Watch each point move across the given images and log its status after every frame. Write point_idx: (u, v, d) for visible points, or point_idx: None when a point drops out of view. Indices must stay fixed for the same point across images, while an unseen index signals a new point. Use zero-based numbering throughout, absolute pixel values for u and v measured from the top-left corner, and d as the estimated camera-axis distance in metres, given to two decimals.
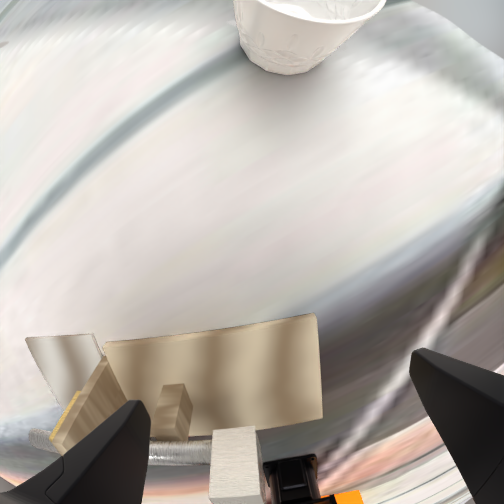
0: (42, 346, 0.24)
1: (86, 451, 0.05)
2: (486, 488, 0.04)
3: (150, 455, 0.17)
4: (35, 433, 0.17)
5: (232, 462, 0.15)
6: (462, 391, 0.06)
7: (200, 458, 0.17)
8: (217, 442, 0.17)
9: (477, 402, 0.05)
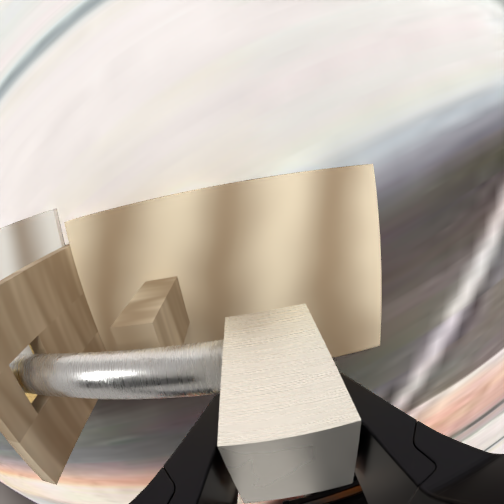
0: None
1: (194, 457, 0.05)
2: None
3: (102, 373, 0.09)
4: None
5: (272, 361, 0.08)
6: (366, 430, 0.06)
7: (198, 375, 0.09)
8: (235, 333, 0.10)
9: (378, 446, 0.05)
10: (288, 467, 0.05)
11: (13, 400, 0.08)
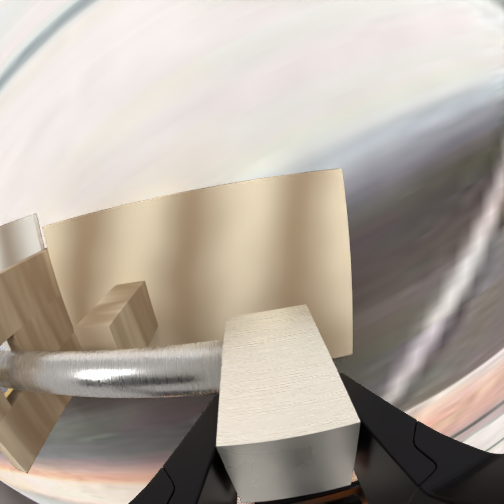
0: None
1: (194, 457, 0.05)
2: None
3: (102, 371, 0.09)
4: None
5: (272, 362, 0.08)
6: (366, 430, 0.06)
7: (198, 375, 0.09)
8: (235, 333, 0.10)
9: (379, 446, 0.05)
10: (287, 468, 0.05)
11: None
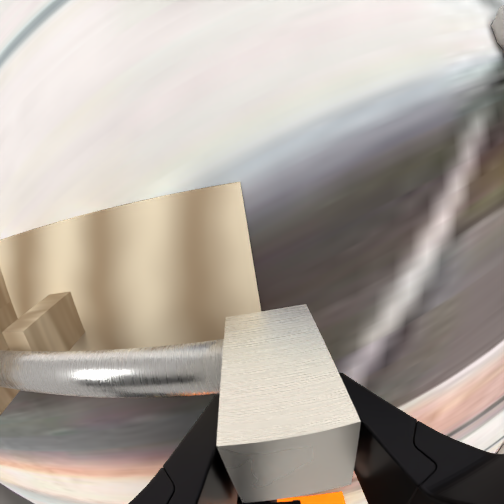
0: None
1: (193, 457, 0.05)
2: None
3: (102, 371, 0.09)
4: None
5: (272, 362, 0.08)
6: (366, 429, 0.06)
7: (198, 374, 0.09)
8: (235, 333, 0.10)
9: (379, 446, 0.05)
10: (287, 468, 0.05)
11: None
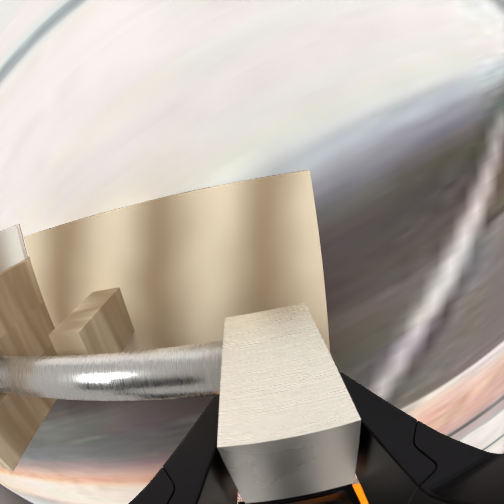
0: None
1: (194, 457, 0.05)
2: None
3: (102, 375, 0.09)
4: None
5: (272, 362, 0.08)
6: (366, 429, 0.06)
7: (198, 376, 0.09)
8: (234, 333, 0.10)
9: (379, 446, 0.05)
10: (289, 467, 0.05)
11: None
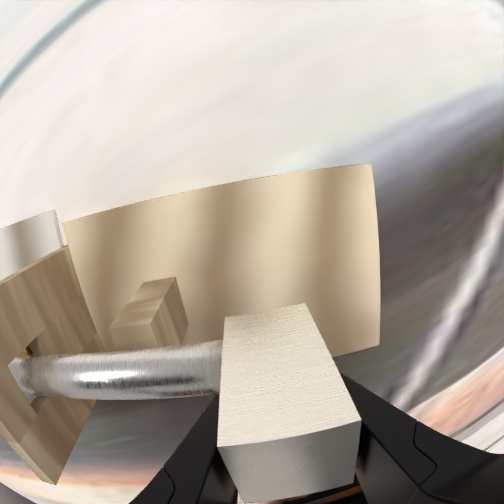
0: None
1: (194, 457, 0.05)
2: None
3: (102, 373, 0.09)
4: None
5: (272, 361, 0.08)
6: (366, 430, 0.06)
7: (198, 375, 0.09)
8: (234, 333, 0.10)
9: (379, 446, 0.05)
10: (289, 467, 0.05)
11: (12, 401, 0.08)
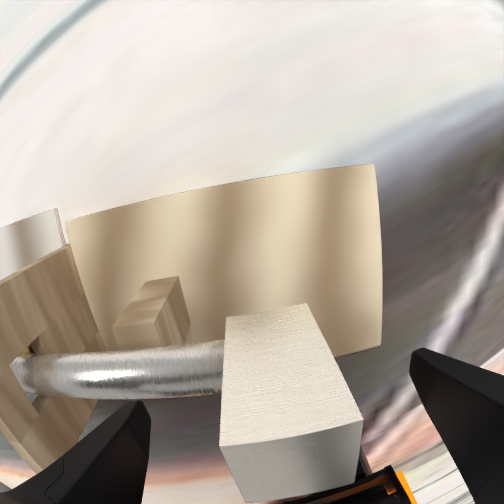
0: None
1: (86, 451, 0.05)
2: (486, 488, 0.04)
3: (103, 373, 0.09)
4: None
5: (274, 361, 0.08)
6: (462, 391, 0.06)
7: (199, 375, 0.09)
8: (236, 333, 0.10)
9: (477, 402, 0.05)
10: (291, 467, 0.05)
11: (14, 400, 0.08)
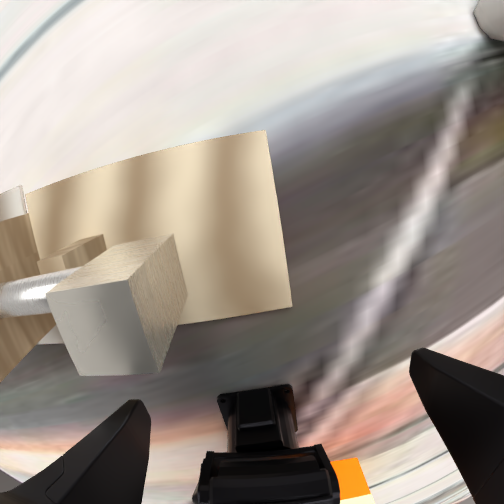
0: None
1: (86, 451, 0.05)
2: (486, 488, 0.04)
3: (28, 287, 0.12)
4: None
5: (114, 259, 0.10)
6: (463, 391, 0.06)
7: None
8: (110, 250, 0.12)
9: (477, 402, 0.05)
10: (92, 327, 0.08)
11: None
